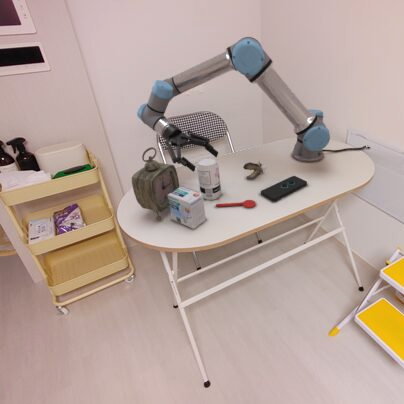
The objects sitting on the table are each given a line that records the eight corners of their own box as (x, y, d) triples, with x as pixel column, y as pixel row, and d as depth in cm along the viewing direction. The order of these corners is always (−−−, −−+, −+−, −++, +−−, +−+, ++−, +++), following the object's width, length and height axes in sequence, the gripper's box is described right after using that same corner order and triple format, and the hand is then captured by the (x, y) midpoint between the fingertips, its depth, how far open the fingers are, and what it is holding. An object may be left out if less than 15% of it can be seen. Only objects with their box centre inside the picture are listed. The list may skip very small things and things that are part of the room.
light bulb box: (171, 219, 109) (166, 194, 103) (185, 210, 113) (180, 185, 107) (194, 229, 104) (189, 203, 98) (206, 219, 109) (203, 194, 103)
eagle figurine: (254, 166, 141) (240, 169, 135) (262, 157, 136) (247, 159, 130) (263, 179, 139) (248, 183, 133) (270, 170, 134) (255, 173, 128)
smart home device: (308, 181, 128) (274, 198, 117) (307, 185, 129) (274, 202, 118) (293, 174, 133) (259, 190, 122) (293, 178, 134) (259, 194, 123)
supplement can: (198, 192, 124) (194, 159, 116) (218, 188, 127) (214, 155, 119) (203, 202, 118) (198, 168, 110) (223, 198, 121) (220, 164, 112)
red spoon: (215, 210, 114) (215, 207, 113) (216, 203, 118) (215, 200, 117) (255, 207, 115) (255, 205, 114) (255, 200, 119) (254, 198, 118)
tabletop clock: (160, 224, 107) (144, 159, 93) (139, 218, 109) (120, 155, 95) (182, 202, 118) (171, 142, 104) (163, 198, 121) (149, 139, 107)
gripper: (189, 127, 137) (223, 155, 133) (144, 149, 121) (182, 182, 117) (191, 114, 131) (227, 143, 128) (144, 135, 115) (184, 169, 111)
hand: (206, 161), depth 122 cm, fingers open, 13 cm apart
